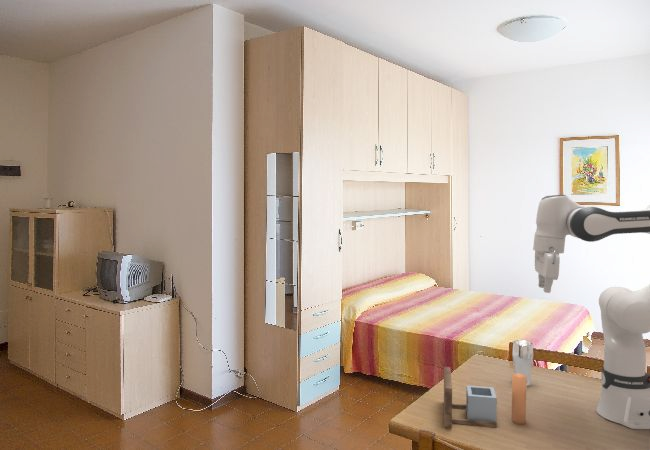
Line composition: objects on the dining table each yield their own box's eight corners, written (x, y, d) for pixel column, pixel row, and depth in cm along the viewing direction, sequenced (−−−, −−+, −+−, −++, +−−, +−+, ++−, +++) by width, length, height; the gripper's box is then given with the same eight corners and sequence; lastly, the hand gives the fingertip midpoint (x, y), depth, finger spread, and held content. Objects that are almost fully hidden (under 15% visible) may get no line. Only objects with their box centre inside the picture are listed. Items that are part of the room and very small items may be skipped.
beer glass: (514, 378, 186) (515, 338, 185) (534, 382, 182) (535, 341, 181) (509, 384, 181) (510, 343, 180) (529, 388, 177) (530, 346, 176)
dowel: (524, 418, 154) (525, 373, 153) (526, 424, 150) (527, 378, 149) (510, 417, 155) (511, 372, 154) (512, 423, 151) (513, 377, 150)
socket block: (493, 412, 158) (493, 387, 158) (496, 424, 150) (496, 398, 150) (466, 409, 160) (466, 385, 159) (467, 421, 152) (468, 395, 151)
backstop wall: (491, 406, 163) (491, 370, 162) (498, 432, 145) (498, 392, 144) (443, 402, 166) (444, 366, 165) (444, 427, 149) (445, 388, 148)
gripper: (567, 250, 146) (561, 297, 147) (553, 244, 166) (548, 286, 166) (543, 247, 147) (538, 294, 148) (533, 242, 167) (528, 283, 168)
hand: (544, 289), depth 157 cm, fingers open, 8 cm apart
